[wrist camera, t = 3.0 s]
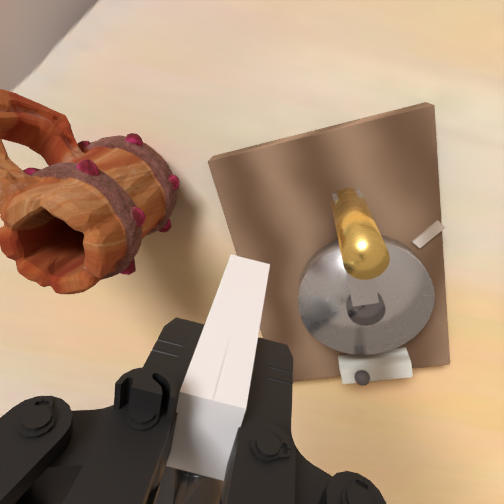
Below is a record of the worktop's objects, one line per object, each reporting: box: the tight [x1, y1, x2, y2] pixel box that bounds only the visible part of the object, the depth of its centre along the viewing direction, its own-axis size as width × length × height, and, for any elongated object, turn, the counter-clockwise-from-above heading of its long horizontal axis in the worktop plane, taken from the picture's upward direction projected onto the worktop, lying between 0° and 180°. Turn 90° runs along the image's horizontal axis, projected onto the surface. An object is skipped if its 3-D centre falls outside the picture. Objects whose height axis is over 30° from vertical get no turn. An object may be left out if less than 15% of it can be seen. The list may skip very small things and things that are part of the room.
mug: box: [0, 89, 179, 294], centre depth 26 cm, size 15×8×15 cm, turn 40°
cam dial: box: [298, 188, 435, 355], centre depth 28 cm, size 16×11×11 cm
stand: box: [208, 102, 450, 385], centre depth 33 cm, size 17×24×5 cm
